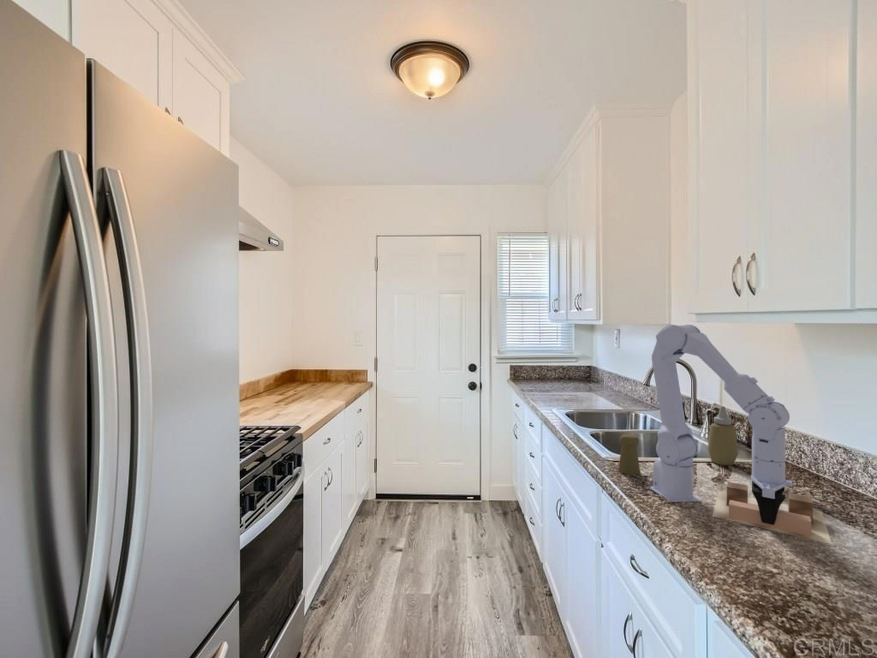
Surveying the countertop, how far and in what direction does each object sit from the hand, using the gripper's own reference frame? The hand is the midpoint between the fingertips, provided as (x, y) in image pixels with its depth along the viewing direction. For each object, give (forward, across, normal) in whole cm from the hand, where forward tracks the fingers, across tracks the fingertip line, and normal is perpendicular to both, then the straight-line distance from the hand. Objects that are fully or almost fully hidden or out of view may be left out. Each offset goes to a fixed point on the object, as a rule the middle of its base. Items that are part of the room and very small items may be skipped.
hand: (767, 520), depth 92 cm
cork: (+2, +18, +33) cm, 38 cm away
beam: (+1, 0, 0) cm, 1 cm away
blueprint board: (+1, +6, 0) cm, 6 cm away
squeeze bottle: (+2, +45, +11) cm, 46 cm away
